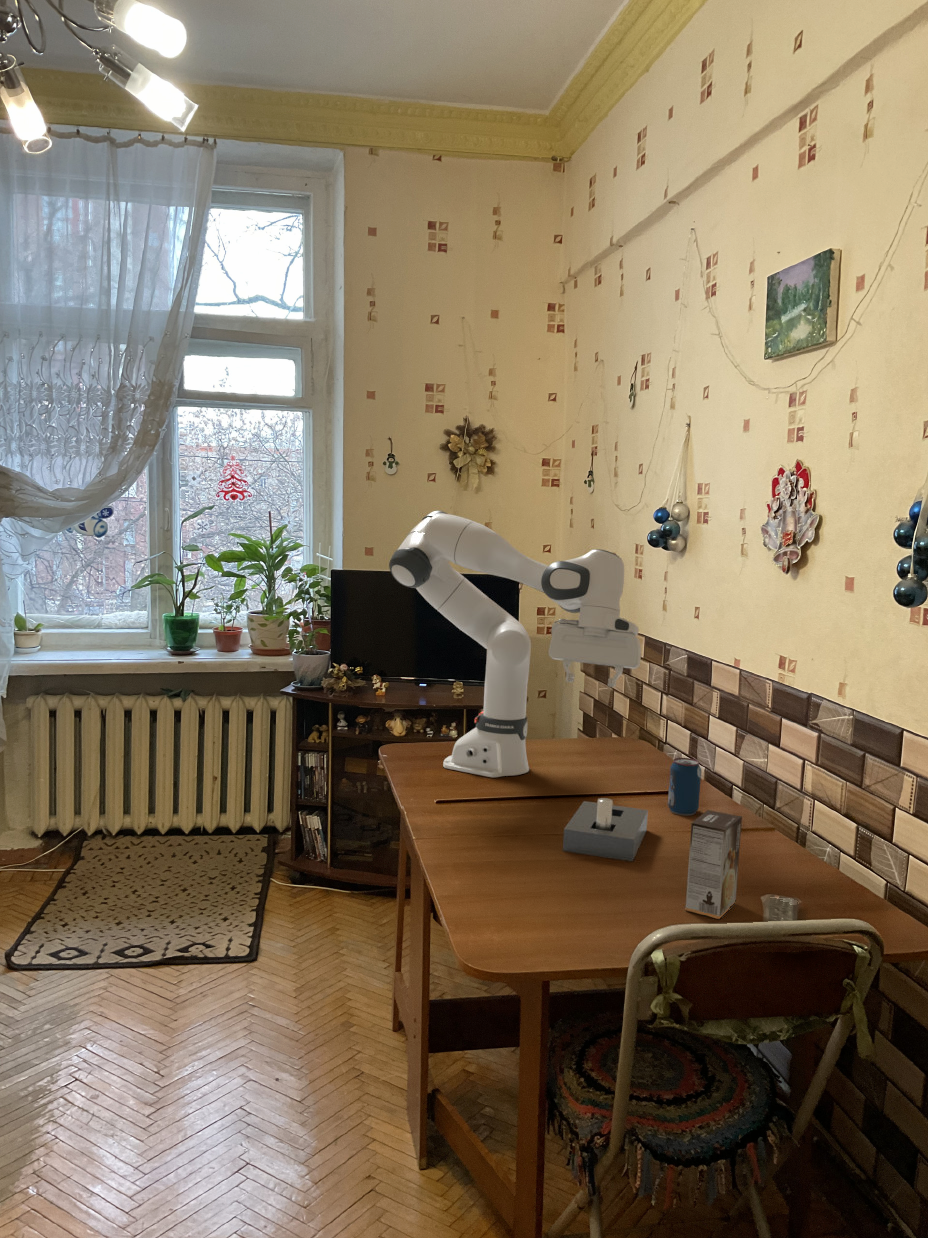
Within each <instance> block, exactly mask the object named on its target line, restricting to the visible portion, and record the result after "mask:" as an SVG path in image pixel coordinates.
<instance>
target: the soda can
mask: <svg viewBox="0 0 928 1238" xmlns="http://www.w3.org/2000/svg"><path fill="white" fill-rule="evenodd" d="M670 765H671V766H670V770H669V784H668V797H667V799H668V800H667V806H668V809H669V810H670V812H671V813H673V814H676V815H679V816H694V815H695V814H696V812H697V811H698V809H699V806H700V805H699V804H700V794H701V781H702V780H701V776H702V769H701V766H700V762H699V760H697V759H694V758H690V757H689V758H688V757H675V758H674V759H673V762H672V764H670ZM693 814H694V815H693Z"/></svg>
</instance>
